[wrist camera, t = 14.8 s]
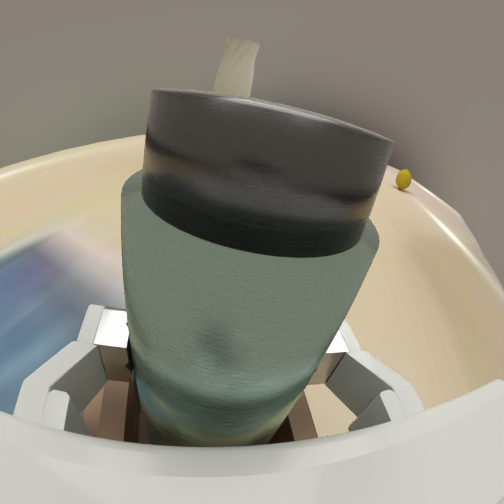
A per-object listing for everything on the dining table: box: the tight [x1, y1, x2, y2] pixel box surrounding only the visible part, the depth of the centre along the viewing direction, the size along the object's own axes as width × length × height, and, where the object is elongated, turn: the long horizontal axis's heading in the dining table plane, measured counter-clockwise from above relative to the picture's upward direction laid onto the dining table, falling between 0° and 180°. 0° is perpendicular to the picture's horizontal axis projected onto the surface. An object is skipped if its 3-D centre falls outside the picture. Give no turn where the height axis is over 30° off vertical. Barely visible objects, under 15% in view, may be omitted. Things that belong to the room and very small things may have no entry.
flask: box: [121, 88, 394, 447], centre depth 9 cm, size 6×6×16 cm
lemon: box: [396, 169, 411, 190], centre depth 93 cm, size 6×6×8 cm
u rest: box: [83, 372, 318, 444], centre depth 13 cm, size 15×15×6 cm
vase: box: [213, 38, 259, 97], centre depth 58 cm, size 9×8×30 cm
